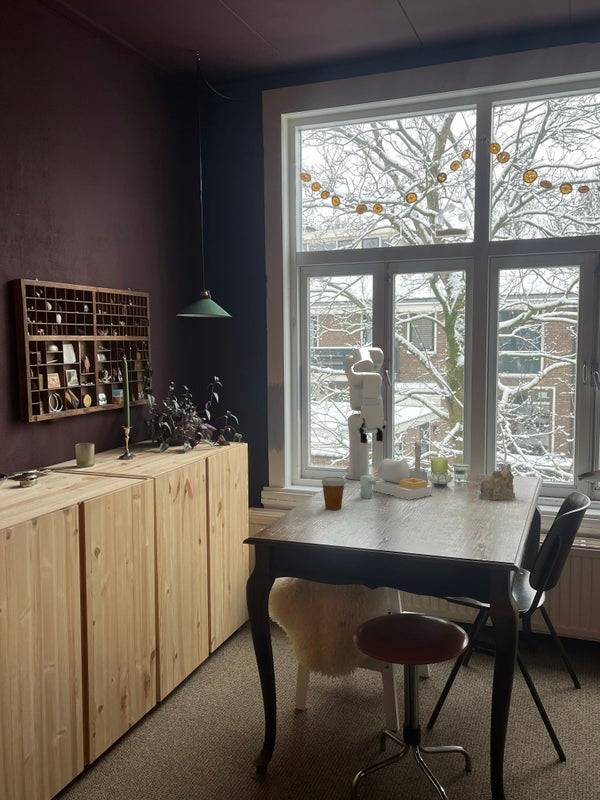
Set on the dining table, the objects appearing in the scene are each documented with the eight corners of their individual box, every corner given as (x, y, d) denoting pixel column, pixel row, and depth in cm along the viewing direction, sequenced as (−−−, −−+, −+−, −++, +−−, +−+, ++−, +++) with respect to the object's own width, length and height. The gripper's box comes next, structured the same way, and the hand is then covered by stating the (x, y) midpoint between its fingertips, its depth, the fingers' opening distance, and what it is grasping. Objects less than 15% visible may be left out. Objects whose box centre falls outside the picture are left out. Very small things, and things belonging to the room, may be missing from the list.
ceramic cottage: (507, 491, 296) (506, 458, 294) (520, 501, 280) (519, 466, 278) (472, 493, 296) (471, 460, 294) (483, 503, 280) (482, 468, 278)
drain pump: (357, 497, 285) (358, 476, 284) (366, 495, 288) (366, 474, 287) (370, 500, 279) (370, 479, 278) (378, 498, 282) (378, 477, 282)
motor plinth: (373, 490, 297) (373, 459, 296) (394, 486, 306) (395, 456, 304) (410, 499, 280) (410, 466, 279) (432, 495, 288) (432, 463, 287)
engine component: (426, 481, 317) (405, 481, 318) (426, 439, 316) (405, 438, 316) (429, 486, 306) (407, 486, 307) (430, 442, 305) (408, 442, 305)
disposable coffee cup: (340, 512, 259) (340, 482, 258) (317, 509, 263) (317, 479, 262) (348, 507, 267) (348, 477, 266) (326, 504, 271) (326, 475, 270)
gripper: (379, 401, 293) (379, 439, 294) (351, 402, 282) (351, 442, 283) (392, 401, 287) (391, 441, 288) (363, 403, 276) (363, 444, 277)
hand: (371, 441), depth 285 cm, fingers open, 9 cm apart
